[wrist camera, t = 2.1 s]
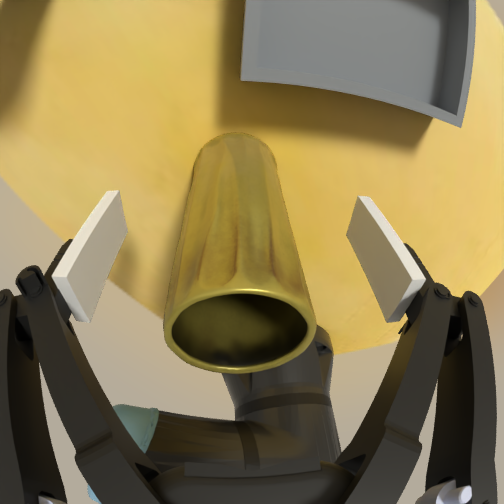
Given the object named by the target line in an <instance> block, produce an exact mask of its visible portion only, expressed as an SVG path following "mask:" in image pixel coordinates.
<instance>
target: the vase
mask: <svg viewBox="0 0 504 504" xmlns="http://www.w3.org/2000/svg"><path fill="white" fill-rule="evenodd" d="M316 326H317V323H316V318H315V314H314V310H313V306H312V303H311V299H310V296H309V292H308V288H307V284H306V281H305V277H304V273H303V270H302V266H301V262H300V258H299V254H298V250H297V247H296V243H295V240H294V236H293V232H292V229H291V225H290V222H289V217H288V213H287V209H286V205H285V202H284V198H283V194H282V190H281V185H280V181H279V177H278V174H277V164H276V160H275V158H274V155H273V153H272V151H271V150H270V149H269V147H268V146H267V145H266V144H265V143H264V142H263V141H261V140H260V139H258V138H256V137H254V136H252V135H249V134H245V133H227V134H223V135H220V136H218V137H216V138H214V139H212V140H211V141H209V142H208V143H207V144H205V145H204V146H203V148H202V149H201V150H200V152H199V154H198V156H197V158H196V161H195V164H194V177H193V182H192V186H191V189H190V193H189V196H188V200H187V205H186V210H185V214H184V219H183V225H182V231H181V236H180V240H179V243H178V247H177V251H176V256H175V260H174V265H173V270H172V275H171V280H170V285H169V291H168V297H167V303H166V308H165V314H164V322H163V329H164V337H165V341H166V344H167V346H168V347H169V348H170V349H171V350H172V351H173V352H174V353H175V354H176V355H177V356H178V357H179V358H181V359H182V360H183V361H185V362H186V363H188V364H190V365H192V366H195V367H198V368H201V369H204V370H208V371H212V372H219V373H230V374H242V373H251V372H258V371H263V370H267V369H270V368H274V367H277V366H280V365H282V364H284V363H286V362H288V361H290V360H292V359H294V358H295V357H297V356H299V355H300V354H301V353H302V352H304V351H305V350H306V348H307V347H308V346H309V345H310V343H311V342H312V340H313V338H314V335H315V332H316Z"/></svg>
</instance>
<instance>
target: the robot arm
mask: <svg viewBox="0 0 504 504" xmlns="http://www.w3.org/2000/svg"><path fill="white" fill-rule="evenodd" d="M127 233H128V230H127V225H126V221H125V216H124V211H123V207H122V202H121V197H120V191H119V190H118V191H107V192H106V193H105V195H104V196H103V197H102V199H101V200H100V201H99V203H98V204H97V206H96V207H95V208H94V210H93V211H92V213H91V214H90V215H89V217H88V218H87V220H86V221H85V223H84V224H83V226H82V227H81V229H80V230H79V232H78V233H77V235H76V236H75V238H74V239H69V240H68V241H67V242H66V243H65V244H64V245H62V247H61V248H60V250H59V251H58V253H57V255H56V256H55V258H54V261H52V263H51V265H50V266H49V268H48V270H47V272H46V273H45V275H43V273H42V271H41V270H40V268H39V267H38V266H36V265H33V266H29V267H26V268H25V269H23V270H22V271H21V272H20V273H19V274H18V276H17V278H16V285H17V287H18V289H19V290H20V292H21V293H22V295H19V296H14V295H13V294H12V292H11V291H10V290H9V289H4V290H1V291H0V504H67V498H66V495H65V489H64V485H63V482H62V479H61V475H60V472H59V469H58V465H57V462H56V459H55V455H54V451H53V447H52V444H51V439H50V435H49V430H48V425H47V420H46V415H45V409H44V402H43V396H42V388H41V379H40V368H39V362H40V366H41V368H42V371H43V375H44V377H45V380H46V383H47V386H48V389H49V391H50V394H51V397H52V399H53V402H54V404H55V407H56V409H57V411H58V414H59V416H60V418H61V421H62V423H63V425H64V427H65V429H66V431H67V433H68V435H69V437H70V439H71V441H72V443H73V445H74V447H75V450H76V455H75V461H76V464H77V466H78V468H79V470H80V472H81V473H82V475H83V477H84V478H85V480H86V481H87V483H88V494H89V497H90V498H91V499H92V500H94V501H96V502H98V503H99V504H396V503H397V501H398V500H399V498H400V496H401V494H402V492H403V490H404V488H405V486H406V484H407V482H408V480H409V478H410V476H411V474H412V472H413V470H414V468H415V465H416V463H417V461H418V459H419V456H420V453H421V450H422V444H421V443H420V442H419V435H420V432H421V430H422V427H423V424H424V421H425V418H426V415H427V413H428V410H429V407H430V403H431V400H432V397H433V394H434V390H435V387H436V383H437V379H438V386H437V403H436V415H435V423H434V431H433V439H432V446H431V451H430V457H429V462H428V468H427V474H426V486H425V493H424V494H423V496H422V497H420V498H418V499H417V501H416V503H415V504H497V482H496V471H495V462H494V457H495V446H496V422H497V410H496V409H497V408H496V385H495V374H494V364H493V355H492V348H491V342H490V336H489V330H488V325H487V320H486V315H485V311H484V306H483V303H482V301H481V299H480V298H479V296H478V295H477V294H475V293H473V292H472V291H466V292H465V293H464V294H463V296H462V297H461V298H459V297H455V296H452V295H451V293H450V291H449V290H448V289H447V288H446V287H445V286H444V285H442V284H440V283H435V282H434V281H433V279H432V278H431V276H430V274H429V273H428V271H427V270H426V268H425V266H424V265H423V264H422V262H421V260H420V259H419V258H418V256H417V254H416V253H415V251H414V250H413V249H412V248H411V247H410V246H409V245H408V244H406V243H403V242H402V241H401V239H400V238H399V236H398V235H397V234H396V232H395V231H394V229H393V228H392V227H391V225H390V224H389V222H388V221H387V220H386V218H385V217H384V215H383V214H382V213H381V211H380V210H379V209H378V207H377V206H376V205H375V203H374V202H373V201H372V200H371V198H370V197H367V196H357V200H356V204H355V207H354V211H353V214H352V217H351V221H350V224H349V227H348V231H347V234H346V236H347V238H348V239H349V241H350V243H351V245H352V247H353V249H354V251H355V254H356V256H357V258H358V260H359V262H360V264H361V266H362V268H363V270H364V272H365V274H366V277H367V279H368V281H369V283H370V285H371V288H372V290H373V292H374V294H375V296H376V299H377V301H378V303H379V306H380V308H381V310H382V313H383V315H384V318H385V320H386V322H387V323H388V322H396V321H400V320H401V318H402V317H403V315H404V314H405V313H406V315H407V317H408V320H407V321H406V323H405V324H404V325H403V327H402V328H401V330H400V331H399V332H398V334H400V333H401V332H402V333H401V336H400V339H399V342H398V344H397V347H396V350H395V352H394V355H393V357H392V360H391V362H390V365H389V367H388V369H387V372H386V374H385V376H384V379H383V381H382V383H381V385H380V387H379V390H378V392H377V394H376V396H375V398H374V400H373V402H372V404H371V406H370V408H369V410H368V412H367V414H366V416H365V418H364V420H363V422H362V423H361V426H360V427H359V429H358V431H357V433H356V434H355V436H354V438H353V440H352V441H351V443H350V444H349V445H348V446H347V448H346V449H345V450H344V451H343V452H341V447H340V443H339V438H338V433H337V428H336V423H335V418H334V414H333V409H332V405H331V400H330V394H329V391H330V383H331V373H332V366H333V365H332V364H333V355H334V354H333V347H332V344H331V340H330V337H329V334H328V333H327V332H326V331H325V330H324V329H323V328H322V327H320V326H318V325H317V326H316V332H315V335H314V338H313V340H312V342H311V343H310V345H309V346H308V347H307V348H306V350H305V351H304V352H302V353H301V354H300V355H299V356H297V357H295V358H294V359H292V360H290V361H288V362H286V363H284V364H282V365H280V366H277V367H274V368H270V369H267V370H263V371H258V372H251V373H242V374H230V373H222V375H223V378H224V381H225V383H226V386H227V388H228V391H229V394H230V396H231V399H232V401H233V404H234V407H235V421H232V420H222V419H211V418H204V417H196V416H189V415H182V414H176V413H170V412H164V411H159V410H158V409H157V408H150V409H148V408H141V407H135V406H129V405H124V404H120V405H115V406H113V407H112V405H111V404H110V402H109V400H108V398H107V397H106V395H105V393H104V392H103V390H102V388H101V386H100V384H99V382H98V380H97V378H96V376H95V375H94V373H93V370H92V368H91V367H90V365H89V363H88V360H87V358H86V356H85V354H84V352H83V350H82V347H81V345H80V343H79V341H78V338H77V336H76V334H75V332H74V329H73V326H72V324H71V322H70V321H69V318H70V315H71V313H72V314H73V316H74V318H75V319H76V321H82V322H89V323H90V322H91V319H92V317H93V314H94V311H95V308H96V305H97V303H98V300H99V298H100V295H101V292H102V290H103V287H104V285H105V282H106V280H107V278H108V275H109V273H110V270H111V268H112V266H113V263H114V261H115V259H116V256H117V254H118V252H119V250H120V248H121V245H122V243H123V241H124V239H125V237H126V235H127ZM462 334H463V337H462V339H461V335H462Z"/></svg>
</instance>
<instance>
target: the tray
mask: <svg viewBox="0 0 504 504" xmlns="http://www.w3.org/2000/svg"><path fill="white" fill-rule="evenodd" d="M475 27H476V0H245V5H244V18H243V32H242V47H241V63H240V80H241V81H256V82H271V83H282V84H291V85H300V86H307V87H314V88H321V89H327V90H333V91H338V92H344V93H349V94H353V95H358V96H362V97H367V98H371V99H375V100H379V101H383V102H387V103H390V104H394V105H397V106H401V107H404V108H407V109H410V110H414V111H417V112H420V113H423V114H426V115H428V116H431V117H434V118H437V119H439V120H442V121H445V122H447V123H450V124H452V125H455V126H457V127H460V128H461V126H462V122H463V118H464V113H465V108H466V104H467V98H468V93H469V87H470V81H471V74H472V66H473V57H474V45H475Z"/></svg>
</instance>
